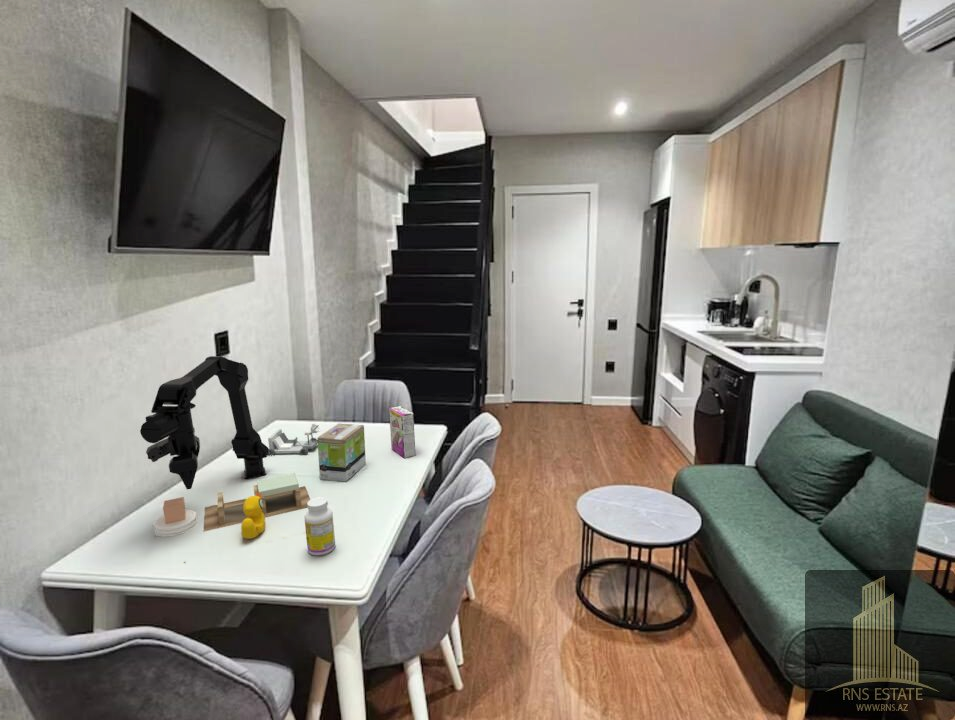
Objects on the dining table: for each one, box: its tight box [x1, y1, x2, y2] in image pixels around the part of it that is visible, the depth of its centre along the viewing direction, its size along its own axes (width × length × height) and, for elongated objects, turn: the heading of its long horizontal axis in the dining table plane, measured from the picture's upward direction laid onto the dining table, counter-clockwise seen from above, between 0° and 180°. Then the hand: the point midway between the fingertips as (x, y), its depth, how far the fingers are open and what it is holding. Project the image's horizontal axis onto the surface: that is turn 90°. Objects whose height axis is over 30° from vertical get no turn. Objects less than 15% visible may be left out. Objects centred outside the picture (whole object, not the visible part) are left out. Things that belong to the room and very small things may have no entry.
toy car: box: [267, 423, 321, 457], centre depth 189 cm, size 18×10×12 cm
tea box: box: [316, 423, 367, 482], centre depth 168 cm, size 15×10×15 cm, turn 168°
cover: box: [256, 472, 300, 497], centre depth 146 cm, size 8×11×2 cm
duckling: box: [240, 493, 266, 540], centre depth 131 cm, size 11×5×10 cm, turn 6°
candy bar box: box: [388, 405, 417, 459], centre depth 183 cm, size 11×5×16 cm, turn 34°
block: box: [162, 496, 187, 524], centre depth 134 cm, size 4×4×4 cm
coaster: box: [153, 509, 198, 538], centre depth 135 cm, size 10×10×4 cm
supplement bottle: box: [304, 496, 336, 556], centre depth 123 cm, size 7×7×13 cm
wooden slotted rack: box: [203, 484, 311, 533], centre depth 144 cm, size 15×28×6 cm, turn 117°
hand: (190, 481), depth 137 cm, fingers open, 9 cm apart
